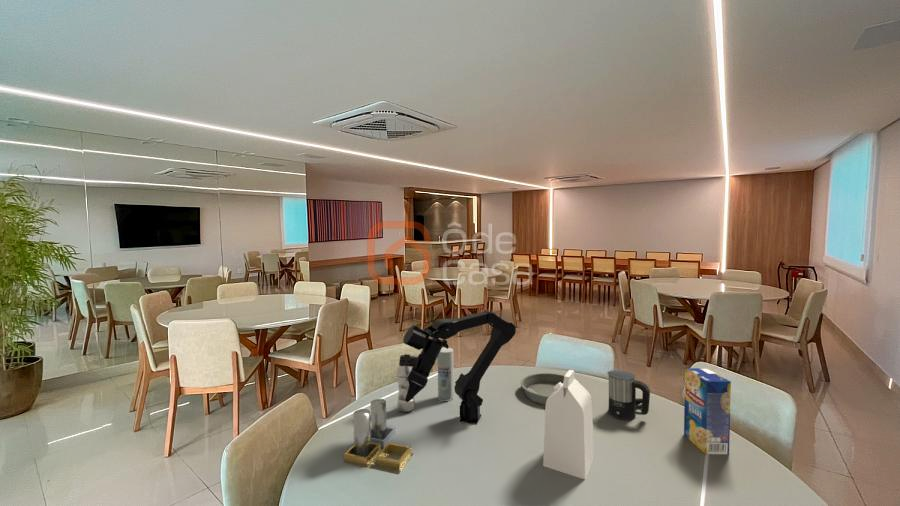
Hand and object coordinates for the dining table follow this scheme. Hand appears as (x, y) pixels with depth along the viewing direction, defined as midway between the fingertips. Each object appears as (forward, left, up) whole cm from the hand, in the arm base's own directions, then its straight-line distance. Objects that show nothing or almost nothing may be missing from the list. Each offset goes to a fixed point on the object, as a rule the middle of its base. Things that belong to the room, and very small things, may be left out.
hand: (407, 398), depth 122 cm
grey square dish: (+7, +7, -12) cm, 16 cm away
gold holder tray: (+2, +16, -12) cm, 20 cm away
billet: (+7, +7, -12) cm, 16 cm away
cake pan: (-43, -46, -13) cm, 64 cm away
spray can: (-3, -29, -12) cm, 31 cm away
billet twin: (+7, +17, -11) cm, 21 cm away
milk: (-51, -1, -12) cm, 53 cm away
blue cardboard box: (-91, -23, -12) cm, 95 cm away
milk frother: (-71, -39, -12) cm, 82 cm away
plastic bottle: (+8, -15, -12) cm, 21 cm away
